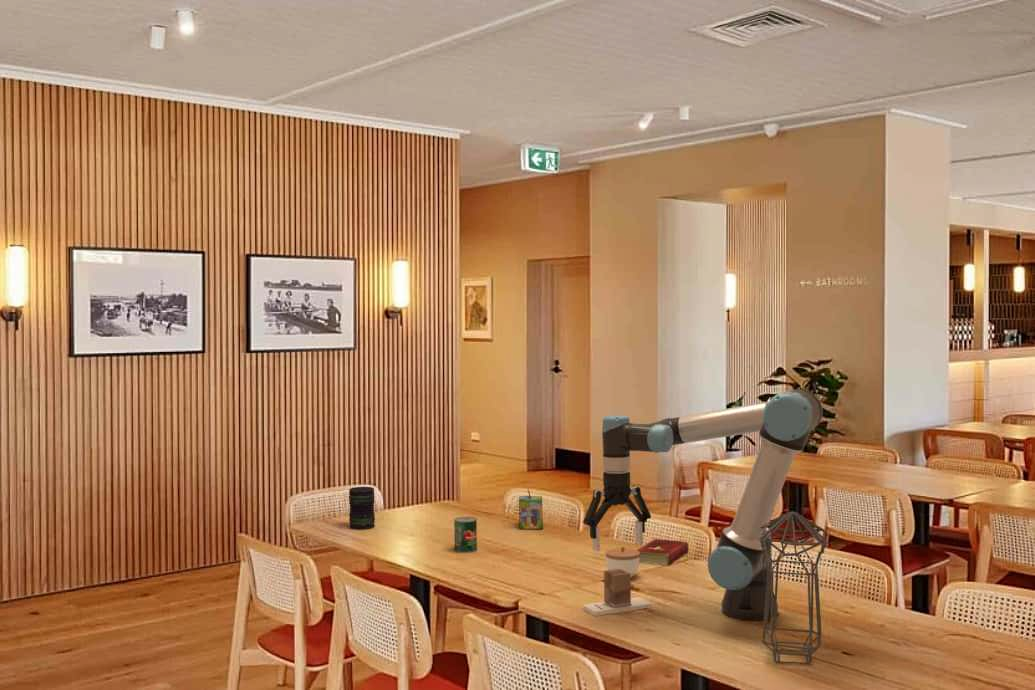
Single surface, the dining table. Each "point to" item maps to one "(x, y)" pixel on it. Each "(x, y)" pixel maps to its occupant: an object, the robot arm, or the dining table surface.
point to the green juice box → (530, 512)
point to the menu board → (605, 609)
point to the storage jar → (361, 508)
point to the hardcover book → (662, 551)
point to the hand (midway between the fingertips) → (617, 547)
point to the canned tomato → (465, 534)
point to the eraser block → (617, 588)
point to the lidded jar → (623, 559)
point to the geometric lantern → (770, 574)
